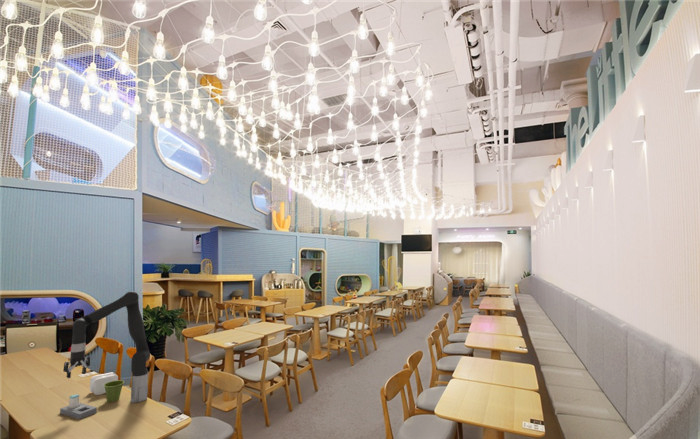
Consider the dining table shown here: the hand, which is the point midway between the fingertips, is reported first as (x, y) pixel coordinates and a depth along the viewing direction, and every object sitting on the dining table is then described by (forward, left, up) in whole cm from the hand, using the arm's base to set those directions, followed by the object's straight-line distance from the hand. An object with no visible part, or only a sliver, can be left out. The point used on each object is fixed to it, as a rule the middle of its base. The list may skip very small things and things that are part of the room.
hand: (76, 375), depth 222 cm
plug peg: (0, 0, -22) cm, 22 cm away
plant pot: (-6, -21, -22) cm, 31 cm away
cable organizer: (+16, -28, -22) cm, 39 cm away
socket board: (-5, 0, -22) cm, 23 cm away
